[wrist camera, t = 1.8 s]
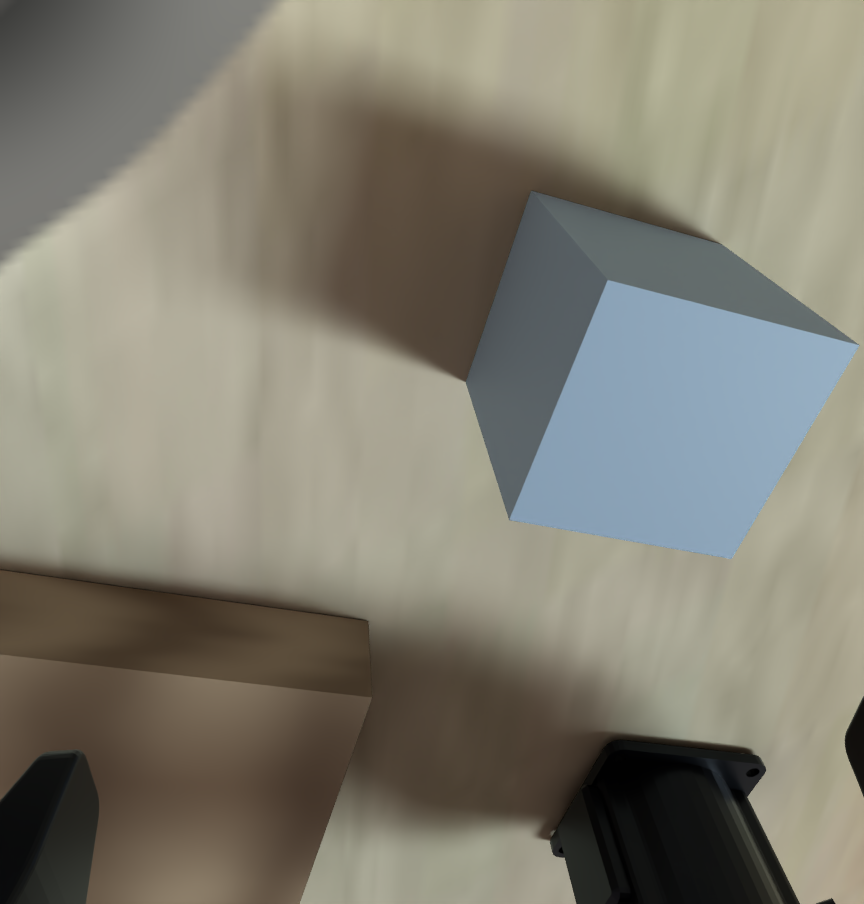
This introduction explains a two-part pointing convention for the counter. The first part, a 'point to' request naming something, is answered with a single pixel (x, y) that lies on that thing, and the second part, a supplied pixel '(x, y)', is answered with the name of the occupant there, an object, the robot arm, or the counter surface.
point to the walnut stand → (185, 731)
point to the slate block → (644, 380)
